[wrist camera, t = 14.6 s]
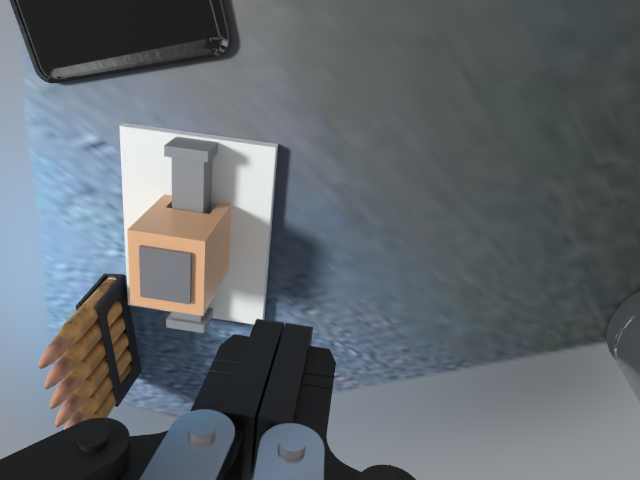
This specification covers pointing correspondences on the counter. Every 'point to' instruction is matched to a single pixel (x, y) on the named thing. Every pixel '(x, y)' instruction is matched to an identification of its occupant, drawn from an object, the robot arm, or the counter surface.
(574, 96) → the counter surface
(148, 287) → the block
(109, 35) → the phone
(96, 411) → the ammunition clip
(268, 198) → the rail board
